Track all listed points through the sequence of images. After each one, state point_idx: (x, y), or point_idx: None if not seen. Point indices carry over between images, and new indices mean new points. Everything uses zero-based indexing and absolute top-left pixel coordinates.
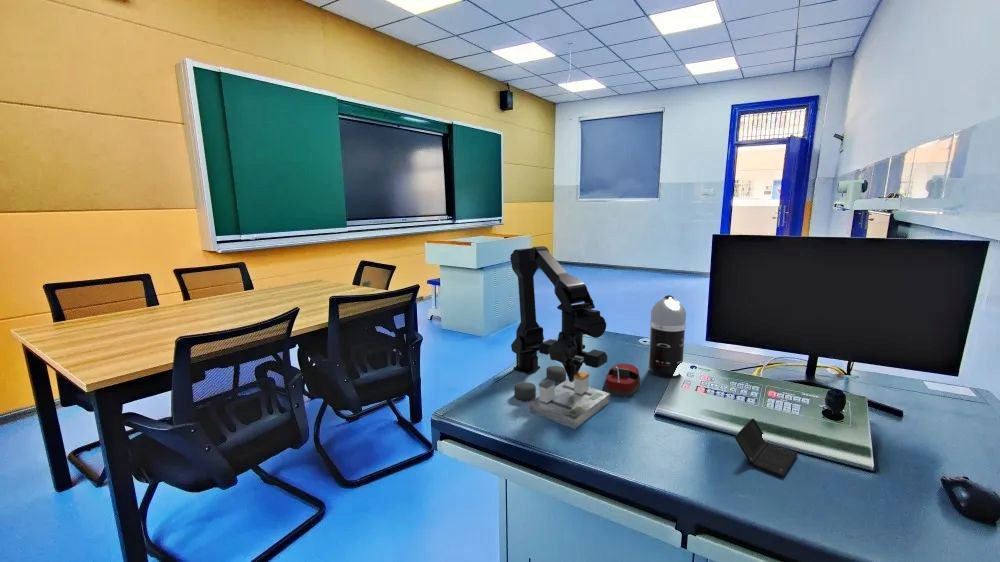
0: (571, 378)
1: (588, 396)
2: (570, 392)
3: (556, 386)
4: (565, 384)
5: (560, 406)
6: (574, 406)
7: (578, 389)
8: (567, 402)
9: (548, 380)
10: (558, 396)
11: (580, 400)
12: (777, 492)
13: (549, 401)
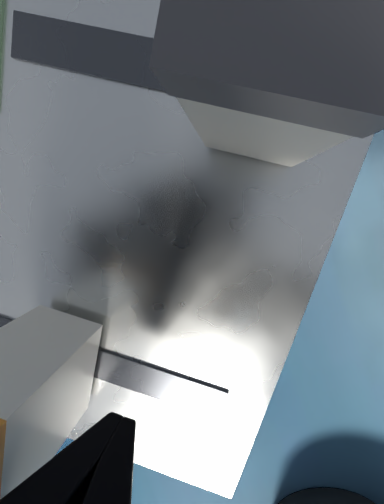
0: (89, 445)
1: (4, 301)
2: (133, 318)
3: (270, 383)
4: (214, 432)
5: (110, 30)
6: (15, 95)
7: (44, 328)
8: (87, 138)
9: (333, 13)
10: (194, 214)
11: (22, 220)
12: None
13: None
